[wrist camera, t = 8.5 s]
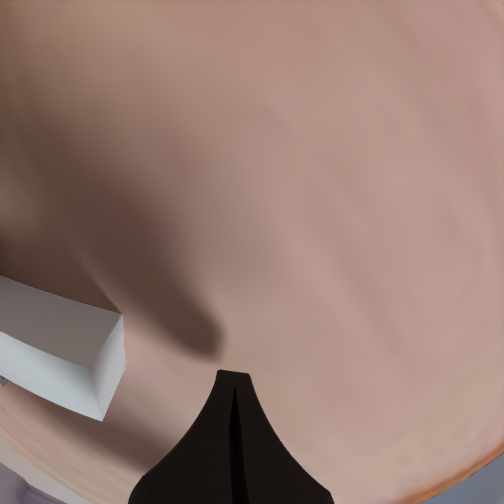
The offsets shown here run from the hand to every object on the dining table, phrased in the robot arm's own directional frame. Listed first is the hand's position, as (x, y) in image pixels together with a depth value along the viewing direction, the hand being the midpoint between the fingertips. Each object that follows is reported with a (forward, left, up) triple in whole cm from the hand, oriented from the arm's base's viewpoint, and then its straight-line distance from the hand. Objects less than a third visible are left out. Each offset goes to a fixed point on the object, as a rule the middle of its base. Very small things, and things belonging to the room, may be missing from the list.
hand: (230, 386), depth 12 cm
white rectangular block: (+10, 0, -2) cm, 10 cm away
